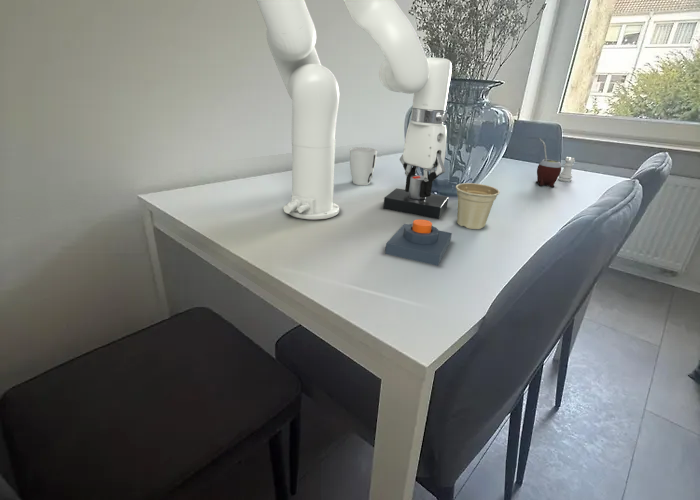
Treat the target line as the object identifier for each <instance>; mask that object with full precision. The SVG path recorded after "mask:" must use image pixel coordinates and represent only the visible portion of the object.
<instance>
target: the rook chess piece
mask: <svg viewBox="0 0 700 500" xmlns="http://www.w3.org/2000/svg"><path fill="white" fill-rule="evenodd" d="M575 159H576V158H575V157H571V156H566V158H565V159H564V161H565V163H564V166H563V169H562V170H561V172H560V175H559V176H558V178H557V180H558V181H559V182H565V183H570V182H571V181H572V178H573V174H572V171H573V167H574V163H575V162H576V160H575Z"/></svg>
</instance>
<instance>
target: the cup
mask: <svg viewBox="0 0 700 500" xmlns="http://www.w3.org/2000/svg"><path fill="white" fill-rule="evenodd" d="M377 155H378V150H377V149H375V148H371V147H362V146H361V147H360V146H359V147H357V146H355V147H351V148H349V168H350V176H351V180H352V183H353V185H357V186H368V185H370V183H371V181H372V178H373V176H374V171H375V167H376V162H377Z"/></svg>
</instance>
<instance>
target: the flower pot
mask: <svg viewBox="0 0 700 500" xmlns="http://www.w3.org/2000/svg"><path fill="white" fill-rule="evenodd" d="M455 190H456V195H457V219H456V223H457V225H459V226H460V227H464V228H466V229H469V230H481V229H483V228H485V227H486V224H487V221H488V219H489V216H490V213H491V210H492V207H493V205H494V201H496V199H497V197H498V196H499V195H500V193H501V191H500V189H498V188H496V187H494V186H491V185H487V184H482V183H473V182H464V183H458V184H456V185H455Z"/></svg>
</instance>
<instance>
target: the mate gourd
mask: <svg viewBox="0 0 700 500" xmlns="http://www.w3.org/2000/svg"><path fill="white" fill-rule="evenodd" d="M538 140H540V142H541V143H542V145H543V151H544V159H542V160H541V161H540V162H539V164H538V165H537V168H536V177H537V179H536V181H535V184H538V186H539V187H544V186H546V187H550V188H555V184H556V182H557V180H558V178H559V175H560V174H561V172H562V163H561V161H559V160H555V159H549V158H548V155H547V144H546V143H545V142H544V140H543V139H542V138H541V137H538Z"/></svg>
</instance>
